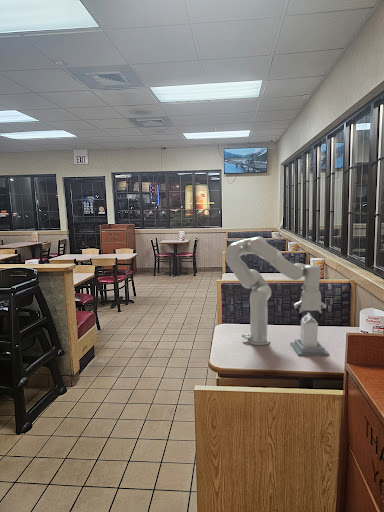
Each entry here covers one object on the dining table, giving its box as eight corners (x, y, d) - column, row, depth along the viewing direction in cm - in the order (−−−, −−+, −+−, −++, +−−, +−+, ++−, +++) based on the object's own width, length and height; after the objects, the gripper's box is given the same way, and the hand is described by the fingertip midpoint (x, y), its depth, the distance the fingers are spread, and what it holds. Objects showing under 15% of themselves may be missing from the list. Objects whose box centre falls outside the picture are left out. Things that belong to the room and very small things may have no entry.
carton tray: (298, 355, 185) (298, 349, 184) (290, 344, 200) (290, 338, 199) (329, 355, 185) (329, 349, 184) (318, 343, 200) (318, 337, 199)
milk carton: (313, 345, 195) (314, 311, 192) (316, 350, 188) (318, 316, 185) (299, 344, 196) (301, 311, 193) (303, 350, 189) (304, 316, 186)
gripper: (297, 290, 183) (295, 322, 186) (330, 290, 183) (327, 322, 186) (292, 286, 190) (291, 317, 193) (325, 286, 191) (322, 317, 194)
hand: (309, 319), depth 190 cm, fingers open, 9 cm apart
